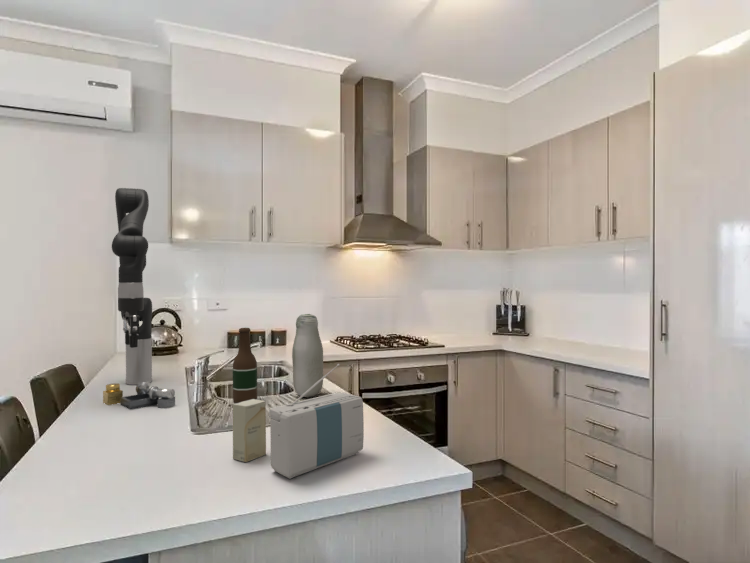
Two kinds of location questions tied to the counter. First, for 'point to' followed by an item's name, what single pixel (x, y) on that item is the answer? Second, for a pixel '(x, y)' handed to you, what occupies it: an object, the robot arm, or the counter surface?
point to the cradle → (137, 401)
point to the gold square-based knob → (112, 394)
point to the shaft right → (162, 396)
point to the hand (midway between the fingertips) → (131, 345)
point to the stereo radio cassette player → (315, 432)
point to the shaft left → (143, 387)
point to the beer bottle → (244, 370)
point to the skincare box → (249, 430)
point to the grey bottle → (307, 356)
